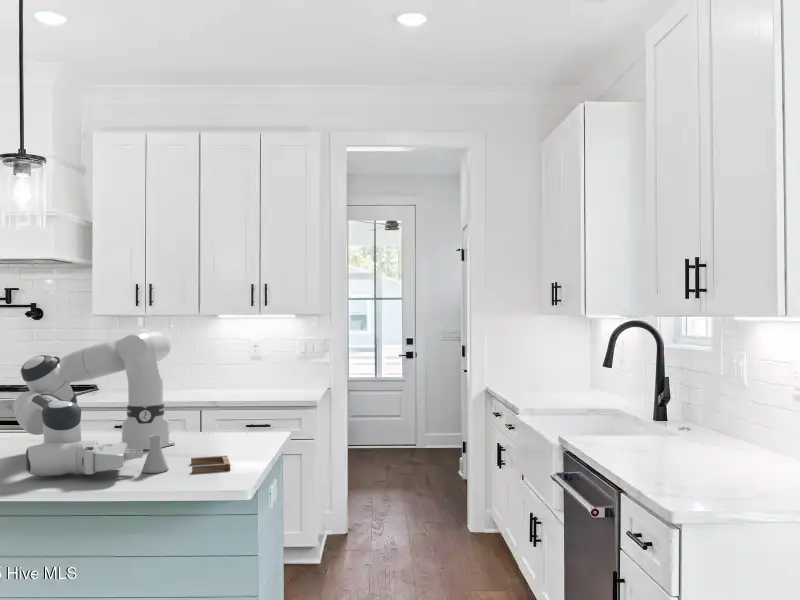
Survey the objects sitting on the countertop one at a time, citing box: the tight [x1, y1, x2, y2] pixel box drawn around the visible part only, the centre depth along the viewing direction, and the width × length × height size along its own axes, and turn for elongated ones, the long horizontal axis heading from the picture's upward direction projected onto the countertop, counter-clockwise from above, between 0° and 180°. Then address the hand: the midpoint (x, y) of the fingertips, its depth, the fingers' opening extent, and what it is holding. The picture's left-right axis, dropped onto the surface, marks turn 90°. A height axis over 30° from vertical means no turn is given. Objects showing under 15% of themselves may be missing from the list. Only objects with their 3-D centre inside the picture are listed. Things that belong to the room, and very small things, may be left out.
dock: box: [190, 455, 231, 474], centre depth 207 cm, size 13×10×2 cm
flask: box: [141, 435, 170, 474], centre depth 202 cm, size 7×7×10 cm
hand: (142, 453), depth 201 cm, fingers closed
